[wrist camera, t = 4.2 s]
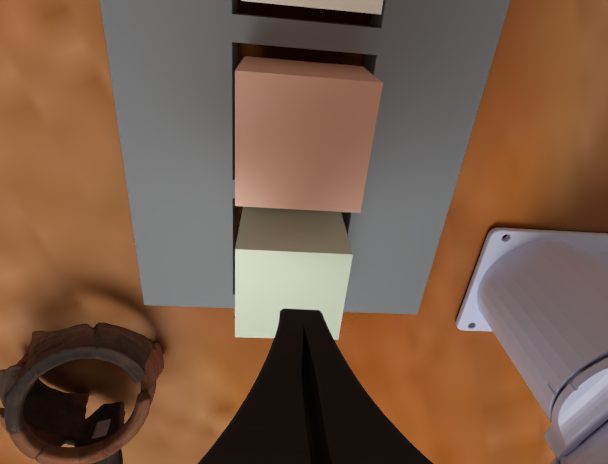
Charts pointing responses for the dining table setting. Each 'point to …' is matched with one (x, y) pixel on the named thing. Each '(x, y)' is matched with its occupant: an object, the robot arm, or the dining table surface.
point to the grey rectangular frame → (221, 136)
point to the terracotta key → (303, 134)
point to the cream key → (332, 4)
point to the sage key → (289, 268)
